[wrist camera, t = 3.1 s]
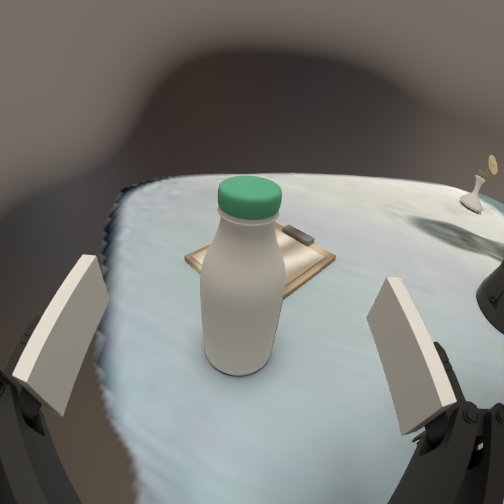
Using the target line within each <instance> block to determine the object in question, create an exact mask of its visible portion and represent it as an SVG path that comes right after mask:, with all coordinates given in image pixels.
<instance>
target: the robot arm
mask: <svg viewBox="0 0 504 504" xmlns="http://www.w3.org/2000/svg"><path fill="white" fill-rule="evenodd" d="M109 300H110V299H109V296H108V293H107V290H106V287H105V284H104V281H103V277H102V274H101V271H100V267H99V264H98V260H97V257H96V256H92V255H82V257H81V258H80V259H79V261H78V262H77V263H76V265H75V266H74V268H73V269H72V271H71V272H70V273H69V275H68V276H67V278H66V279H65V281H64V282H63V284H62V285H61V287H60V289H59V290H58V292H57V293H56V295H55V296H54V298H53V299H52V301H51V303H50V304H49V306H48V308H47V309H46V311H45V313H44V314H43V316H42V317H40V316H37V317H35V318H34V319H33V320H32V321H31V322H30V323H29V325H28V326H27V328H26V330H25V332H24V335H23V336H22V337H21V339H20V341H19V343H18V345H17V346H16V348H15V350H14V352H13V354H12V356H11V358H10V361H9V362H8V365H7V367H6V369H5V371H4V372H2V371H1V370H0V504H82V503H81V501H80V499H79V497H78V496H77V494H76V492H75V490H74V488H73V486H72V484H71V482H70V480H69V478H68V476H67V474H66V472H65V470H64V468H63V465H62V463H61V461H60V459H59V456H58V454H57V451H56V449H55V446H54V444H53V442H52V439H51V436H50V433H49V430H48V428H47V425H46V422H45V419H44V415H43V413H42V411H41V409H40V407H41V405H43V406H44V407H45V408H46V409H47V410H49V411H51V412H53V413H56V414H58V415H61V416H63V415H64V411H65V408H66V405H67V402H68V399H69V396H70V394H71V390H72V387H73V385H74V382H75V380H76V377H77V374H78V372H79V369H80V366H81V364H82V361H83V359H84V356H85V354H86V351H87V349H88V347H89V344H90V342H91V340H92V337H93V335H94V333H95V330H96V328H97V326H98V324H99V322H100V319H101V317H102V315H103V313H104V311H105V309H106V307H107V305H108V302H109ZM477 300H478V303H479V306H480V308H481V310H482V311H483V313H484V314H485V316H486V317H487V318H488V320H489V321H490V322H491V323H492V324H493V325H494V326H495V327H496V328H497V329H498V330H500V331H501V332H503V333H504V260H503V261H502V263H501V265H500V266H499V267H498V268H497V269H496V270H495V271H494V272H492V273H491V274H490V275H489V276H488V277H487V278H486V279H485V280H484V281H483V282H482V283H481V285H480V287H479V288H478V290H477ZM366 318H367V321H368V324H369V326H370V329H371V332H372V335H373V338H374V341H375V344H376V347H377V350H378V353H379V356H380V359H381V362H382V365H383V368H384V372H385V375H386V378H387V382H388V385H389V389H390V392H391V396H392V399H393V403H394V407H395V410H396V414H397V418H398V422H399V426H400V430H401V434H402V436H403V435H406V434H410V433H413V432H416V431H418V430H419V429H421V428H422V427H424V426H425V431H424V432H422V433H421V434H419V435H418V436H416V437H415V438H414V439H413V440H412V442H415V441H417V440H419V439H420V440H419V441H418V442H417V443H416V444H418V445H417V448H416V450H415V452H414V454H413V456H412V459H411V461H410V463H409V465H408V467H407V469H406V471H405V473H404V475H403V477H402V479H401V481H400V482H399V484H398V486H397V488H396V490H395V491H394V493H393V495H392V497H391V498H390V500H389V502H388V503H387V504H502V503H503V498H504V405H503V404H501V403H497V404H495V405H494V406H493V407H492V408H490V409H478V408H477V406H476V405H475V404H474V403H472V402H469V401H467V402H466V400H465V398H464V396H463V393H462V391H461V388H460V385H459V383H458V380H457V378H456V375H455V373H454V371H453V370H452V366H451V363H449V359H448V357H447V354H446V352H445V350H444V349H443V348H442V347H441V345H440V344H439V343H438V342H432V340H431V337H430V335H429V333H428V331H427V329H426V327H425V325H424V323H423V321H422V319H421V317H420V315H419V313H418V311H417V309H416V307H415V305H414V303H413V301H412V299H411V297H410V296H409V294H408V292H407V290H406V288H405V286H404V285H403V283H402V281H401V279H400V278H397V277H386V279H385V281H384V283H383V286H382V288H381V290H380V292H379V294H378V296H377V298H376V300H375V302H374V304H373V306H372V308H371V310H370V312H369V313H368V315H367V317H366ZM481 443H483V448H482V449H480V450H478V445H479V444H481Z"/></svg>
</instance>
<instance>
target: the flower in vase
mask: <svg viewBox="0 0 504 504" xmlns="http://www.w3.org/2000/svg"><path fill="white" fill-rule="evenodd" d="M489 167H490V171H491V172H492V173H493V174H495V173H497V171H496V170H498V169H497V162H495V158H494V157H493V155H492V156H491V157H489ZM489 167H488V168H489ZM488 168H487V169H488ZM486 171H487V170H486ZM486 171H485V173H483V172H482V171H481V169H480V170H479V173H480V174H481V175H482V176H483V175H484V174H486V177H487V178H490V174H489V173H488V172H486ZM484 181H485V180H484V179H483V178H482V177H479V176H477V175H476V185H475V188H474V190H473V192H472V193H470V194H467V195H463V196H462V197H461V198H460V200H461V202H462V203H463V204H464V205H465V206H467V207H468V208H470V209H471V210H474V211H476V212H481V211H482V206H481V203H480V201H479V198H478V191H479V188H480V186H481V185H482V183H483V182H484Z"/></svg>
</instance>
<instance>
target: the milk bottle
mask: <svg viewBox="0 0 504 504" xmlns="http://www.w3.org/2000/svg"><path fill="white" fill-rule="evenodd" d="M281 198H282V191H281V188H280V187H279V186H278V185H277V184H276V183H275V182H273V181H271V180H268V179H265V178H261V177H255V176H236V177H231V178H228V179H226V180H224V181H222V182H221V183H220V185H219V188H218V204H219V206H218V214H219V215H220V216H221V219H220V224H219V227H218V230H217V233H216V235H215V237H214V239H213V241H212V243H211V244H210V246H209V248H208V250H207V252H206V254H205V257H204V260H203V263H202V268H201V275H200V297H201V314H202V327H203V339H204V348H205V353H206V356H207V358H208V360H209V361H210V363H211V364H212V365H213V366H214V367H216V368H217V369H218V370H220V371H222V372H224V373H227V374H230V375H237V376H239V375H247V374H251V373H253V372H255V371H257V370H259V369H260V368H262V367H263V366H264V365H265V364H266V362H267V361H268V359H269V357H270V354H271V350H272V346H273V342H274V338H275V334H276V330H277V325H278V321H279V316H280V312H281V307H282V302H283V296H284V290H285V282H286V271H285V263H284V259H283V256H282V253H281V250H280V247H279V244H278V241H277V237H276V232H275V221H276V220H277V218H278V217H279V208H280V205H281Z"/></svg>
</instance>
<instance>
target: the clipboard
mask: <svg viewBox="0 0 504 504" xmlns="http://www.w3.org/2000/svg"><path fill="white" fill-rule="evenodd" d="M275 232H276V237H277V241H278V244H279V247H280V250H281V253H282V256H283V259H284V263H285V271H286V282H285V290H284V296H283V299H284V298H285V297H287V296H288V295H290V294H291V293H292V292H294V291H295V290H296V289H298V288H299V287H300V286H302V285H303V284H304V283H306V282H307V281H308V280H309V279H311V278H312V277H313V276H315V275H316V274H317V273H319V272H320V271H321V270H322V269H324V268H325V267H326V266H328V265H329V264H330V263H331V262H333V261H334V260H335V258H336V256H335V255H334V254H332V253H330V252H328V251H327V250H325V249H323V248H321V247H320V246H318V245H316V244H314V239H315V238H313V237H311V236H309V235H307V234H305V233H304V232H302V231H300V230H298V229H296V228H294V227H292V226H290V225H287V226H285V227H283V226H281V225H280V224H278V223H276V222H275ZM209 246H210V245H208V246H206V247H204V248H201V249H199V250H197V251H195V252H193V253H190V254H188V255H186V256H185V261H186V262H187V263H189V264H190V265H191V266H192V267H193V268H194V269H196V270H197V271H198V272H199V273H200V274H201V268H202V263H203V260H204V257H205V254H206V252H207V250H208V248H209Z"/></svg>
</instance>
